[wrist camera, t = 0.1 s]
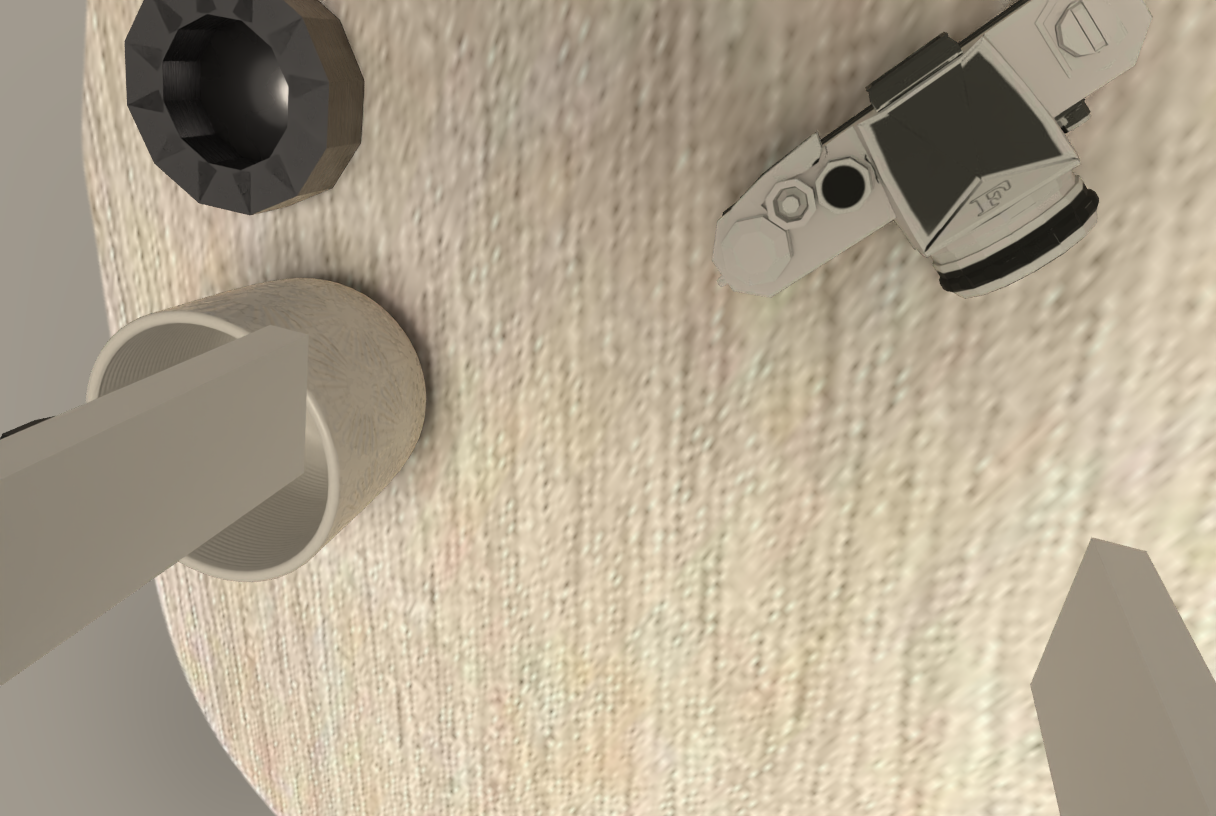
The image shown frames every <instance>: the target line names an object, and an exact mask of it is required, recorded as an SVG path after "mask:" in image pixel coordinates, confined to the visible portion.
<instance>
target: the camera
mask: <svg viewBox="0 0 1216 816" xmlns="http://www.w3.org/2000/svg"><path fill="white" fill-rule="evenodd" d="M1151 20H1152V15H1151V13H1150V11H1149V10H1148V8H1147V6H1146V4H1145V3H1144V1H1143V0H1019V1H1018V2H1016V3H1015V4H1014V5H1012V6H1011V7H1009V8H1008V9H1006V10H1005V11H1004V12H1002V13H1001V14H999V15H998V16H997V17H995V18H994V19H992V20H991V21H989V22H988V23H987V24H985V25H984V26H982V27H981V28H979V29H978V30H977V31H975V32H974V33H972V34H971V35H969V36H968V37H967V38H965V39H964V40H962V41H961V42H959V43H957V42H956V41H954V40H952V39H951V38H949V37H948V33H946V32H943V33H941V34H940V35H938V36H937V37H936V38H934V39H933V40H931V41H930V42H929V43H927V44H926V45H924V46H923V47H922V48H920V49H919V50H917V51H916V52H915V53H913V54H912V55H910V56H909V57H908V58H906V59H905V60H903V61H902V62H901V63H899V64H898V65H896V66H895V67H894V68H892V69H891V70H889V71H888V72H887V73H885V74H884V75H882V76H881V77H880V78H878V79H877V80H875V81H874V82H873V83H871V84H870V85H868V86H867V87H866V91H868V92H869V98H870V102H871V105H870V106H868V107H867V108H865V109H864V110H863V111H861V112H860V113H858V114H857V115H856V116H854V117H853V118H851V119H850V120H848V121H847V122H846V123H844V124H843V125H841V126H840V127H838V128H837V129H836V130H834V131H833V132H831V133H830V134H828V135H827V136H826V137H824V138H823V139H821V140H820V137H819V134H818V132H817V131H816V132H815V133H814V134H813V135H811V136H810V137H809V138H807V139H806V140H805V141H804V142H802V143H801V144H800V145H799V146H797V147H796V148H795V149H793V150H792V151H791V152H790V153H788V154H787V155H786V156H785V157H783V158H782V159H781V160H779V161H778V162H777V163H776V164H774V165H773V166H772V167H771V168H769V169H768V170H767V171H766V172H764V173H763V174H762V175H761V176H760V177H759V178H758V180H757V181H756V182H755V183H754V184H753V185H752V186H751V187H750V188H749V189H748V190H747V192H746V193H745V194H744V195H742V196H741V197H740V199H739V200H738V201H737V202H736V203H735V204H733V205H732V206H731V207H729V208H728V209H727V210H725V211H724V212H723V215H722V217H721V218H720V219H719V220H718V221H717V228H716V235H715V243H714V250H713V258H712V261H713V263H714V264H715V266H716V267H717V269H718V270H719V272H720V273H721V275H722V276H721V277H720V278H718V279H717V282H718V284H719V285H720V286H721V287H722V286H724V285H727V284H729V286H730V287H731V288H732V290H733V291H735V292H741V293H747V294H753V295H759V296H765V297H773V296H774V295H776V294H778V293H779V292H781V291H782V290H784V289H785V288H787V287H789V286H790V285H792V284H793V283H795V282H796V281H798V280H800V279H801V278H803V277H804V276H806V275H807V274H809V273H810V272H812V271H814V270H815V269H817V268H818V267H820V266H821V265H823V264H825V263H826V262H828V261H829V260H831V259H832V258H834V257H836V256H837V255H839V254H840V253H842V252H843V251H845V250H847V249H848V248H850V247H851V246H853V245H854V244H856V243H858V242H859V241H861V240H862V239H864V238H865V237H867V236H869V235H870V234H872V233H873V232H875V231H876V230H878V229H880V228H881V227H883V226H884V225H886V224H887V223H889V222H890V221H892V220H894V221H895V222H896V223H897V225H898V226H899V227H900V229H901V230H902V231H903V233H904V234H905V236H906V237H907V239H908V240H909V242H910V243H911V245H912V247H913V248H914V249H917V250H918V251H919V252H920V253H921V254H922V255H923V256H924V257H926V258H927V257H929V256H931V257H932V258H933V260H934V261H933V266H934V267H935V269H936V270H937V272H938V274H939V275H940V279H939V281H940V284H941V286H942V288H943V289H944V290H946V291H950V292H954V293H955V294H957V295H958V296H960V297H963V298H965V299H966V298H972V297H977V296H982V295H985V294H988V293H990V292H993V291H995V290H998V289H1000V288H1003V287H1006V286H1008V285H1010V284H1012V283H1014V282H1016V281H1018V280H1020V279H1022V278H1023V277H1025V276H1027V275H1029V274H1031V273H1033V272H1035V271H1037V270H1038V269H1040V268H1042V267H1043V266H1045V265H1046V264H1048V263H1049V262H1051V261H1053V260H1054V259H1056V258H1057V257H1059V256H1061V255H1062V254H1064V253H1065V252H1066V251H1067V250H1069V249H1070V248H1071V247H1073V246H1074V245H1075V244H1076V243H1078V242H1079V241H1080V240H1081V239H1083V238H1084V237H1085V236H1086V235H1087V234H1088V233H1089V231H1090V230H1091V229H1092V228H1093V227H1094V226H1095V224H1096V223H1097V206H1098V203H1099V197H1098V196H1097V194H1096V192H1095V191H1092V189H1087V188H1086V186H1085V184H1084V183H1083V181H1082V179H1081V178H1080V176H1079V175H1074V174H1073V172H1072V169H1073V168H1075V167H1076V166H1078V165H1080V164H1081V162H1080V160H1079V157H1078V155H1077V153H1076V151H1075V150H1074V148H1073V147H1072V145H1071V143H1070V142H1069V140H1068V139H1067V137H1066V135H1065V134H1064V133H1067V132H1070V131H1071V130H1073V129H1075V128H1077V127H1078V126H1080V125H1082V124H1083V123H1084V122H1086V121H1087V120H1089V119H1090V117H1091V114H1090V110H1089V108H1088V107H1087V105H1086V103H1085V102H1084V100H1085V99H1084V98H1085V97H1087V96H1088V95H1090V94H1091V93H1093V92H1094V91H1096V90H1098V89H1099V88H1101V87H1102V86H1104V85H1105V84H1107V83H1109V82H1110V81H1112V80H1113V79H1115V78H1116V77H1118V76H1120V75H1121V74H1123V73H1124V72H1126V71H1127V70H1129V69H1130V68H1132V67H1134V66H1135V64H1136V61H1137V58H1138V56H1139V53H1140V50H1141V47H1142V45H1143V42H1144V39H1145V36H1146V34H1147V31H1148V28H1149V25H1150V23H1151Z"/></svg>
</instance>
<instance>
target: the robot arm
mask: <svg viewBox="0 0 1216 816" xmlns="http://www.w3.org/2000/svg"><path fill="white" fill-rule="evenodd" d="M308 340H309V335H308V334H304V333H300V332H296V331H292V330H288V329H285V328H281V327H277V326H273V325H269V326H267V327H264V328H262V329H259V330H257V331H255V332H252V333H250V334H248V335H245V336H243V337H241V338H238V339H236V340H234V341H231V342H229V343H227V344H224V345H222V346H219V347H217V348H215V349H212V350H210V351H208V352H205V353H203V354H201V355H198V356H196V357H194V358H191V359H189V360H187V361H184V362H182V363H179V364H177V365H175V366H172V367H170V368H168V369H165V370H163V371H161V372H158V373H156V374H154V375H151V376H149V377H147V378H144V379H142V380H139V381H137V382H135V383H132V384H130V385H128V386H125V387H123V388H121V389H118V390H116V391H114V392H111V393H109V394H107V395H104V396H102V397H100V398H97V399H95V400H92V401H90V402H88V403H85V404H83V405H81V406H78V407H76V408H74V409H71V410H69V411H67V412H64V413H62V414H60V415H57V416H53V417H49V418H43V419H39V420H34V421H32V422H30V423H27V424H25V425H22V426H20V427H17V428H15V429H13V430H10V431H8V432H6V433H3V434H2V436H1V438H0V686H2V685H3V684H4V683H6V682H7V681H9V680H10V679H11V678H13V677H14V676H16V675H17V674H19V673H20V672H21V671H23V670H24V669H26V668H27V667H28V666H30V665H31V664H33V663H34V662H36V661H37V660H39V659H40V658H41V657H43V656H44V655H46V654H47V653H49V652H50V651H51V650H53V649H54V648H55V647H57V646H58V645H60V644H61V643H63V642H64V641H66V640H67V639H68V638H70V637H71V636H73V635H74V634H76V633H77V632H78V631H80V630H81V629H83V628H84V627H85V626H87V625H88V624H90V623H91V622H93V621H94V620H95V619H97V618H98V617H100V616H101V615H103V614H104V613H105V612H106V611H108V610H110V609H111V608H112V607H114V606H115V605H117V604H118V603H120V602H121V601H123V600H124V599H125V598H127V597H128V596H130V595H131V594H132V593H134V592H135V591H137V590H138V589H140V588H141V587H142V586H143V585H145V584H147V583H148V582H150V581H151V580H152V579H154V578H155V577H157V576H158V575H159V574H161V573H162V572H164V571H165V570H167V569H168V568H169V567H171V566H172V565H174V564H175V563H177V562H178V561H179V560H181V559H182V558H184V557H185V556H187V555H188V554H189V553H191V552H192V551H194V550H195V549H196V548H198V547H199V546H201V545H202V544H204V543H205V542H206V541H208V540H209V539H211V538H212V537H214V536H215V535H216V534H218V533H219V532H221V531H222V530H223V529H225V528H226V527H228V526H229V525H231V524H232V523H233V522H235V521H236V520H238V519H239V518H241V517H242V516H243V515H245V514H246V513H248V512H249V511H250V510H252V509H253V508H255V507H256V506H258V505H259V504H260V503H262V502H263V501H265V500H266V499H268V498H269V497H270V496H272V495H273V494H275V493H276V492H278V491H279V490H280V489H282V488H283V487H285V486H286V485H287V484H289V483H290V482H292V481H293V480H295V479H296V478H297V477H299V476H300V475H302V474H303V473H304V456H305V427H306V398H307V369H308ZM1030 685H1031V690H1032V694H1033V698H1034V703H1035V707H1036V711H1037V716H1038V720H1039V724H1040V729H1041V733H1042V737H1043V742H1044V746H1045V751H1046V755H1047V759H1048V764H1049V768H1050V772H1051V777H1052V781H1053V785H1054V790H1055V794H1056V798H1057V803H1058V807H1059V812H1060V816H1216V682H1215V680H1214V678H1213V677H1212V675H1211V673H1210V671H1209V669H1208V667H1207V665H1206V663H1205V661H1204V660H1203V658H1202V656H1201V654H1200V652H1199V650H1198V648H1197V646H1196V644H1195V642H1194V641H1193V639H1192V637H1191V635H1190V633H1189V631H1188V629H1187V627H1186V625H1185V624H1184V622H1183V620H1182V618H1181V616H1180V614H1179V612H1178V610H1177V608H1176V607H1175V605H1174V603H1173V601H1172V599H1171V597H1170V595H1169V593H1168V591H1167V590H1166V588H1165V586H1164V584H1163V582H1162V580H1161V578H1160V576H1159V574H1158V573H1157V571H1156V569H1155V567H1154V565H1153V563H1152V561H1151V559H1150V557H1149V556H1148V554H1147V552H1146V551H1143V550H1139V549H1135V548H1131V547H1127V546H1123V545H1120V544H1116V543H1112V542H1108V541H1104V540H1100V539H1096V538H1091V540H1090V542H1089V545H1088V547H1087V550H1086V552H1085V554H1084V557H1083V559H1082V562H1081V564H1080V566H1079V569H1078V571H1077V574H1076V576H1075V579H1074V581H1073V583H1072V586H1071V588H1070V591H1069V593H1068V595H1067V598H1066V600H1065V603H1064V605H1063V607H1062V610H1061V612H1060V615H1059V617H1058V619H1057V622H1056V624H1055V627H1054V629H1053V631H1052V634H1051V636H1050V639H1049V641H1048V644H1047V646H1046V648H1045V651H1044V653H1043V656H1042V658H1041V660H1040V663H1039V665H1038V668H1037V670H1036V672H1035V675H1034V677H1033V680H1032V682H1031V684H1030Z"/></svg>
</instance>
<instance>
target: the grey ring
mask: <svg viewBox="0 0 1216 816" xmlns="http://www.w3.org/2000/svg"><path fill="white" fill-rule="evenodd" d="M125 64H126V89H127V106H128V108H129V110H130V112H131V114H132V117H133V119H134V121H135V123H136V125H137V127H138V129H139V132H140V134H141V136H142V138H143V140H144V142H145V144H146V147H147V149H148V151H149V153H150V155H151V157H152V159H153V162H154V164H156V165H157V166H158V167H159V168H160V169H161V170H162V171H163V172H165V173H166V174H167V175H168V176H169V177H170V178H171V179H172V180H174V181H175V182H176V183H177V184H178V185H179V186H180V187H181V188H182V189H184V190H185V191H186V192H187V193H188V194H189V195H190V196H191V197H193V198H194V199H195V200H196V201H197V202H198V203H200V204H205V205H209V206H213V207H217V208H221V209H226V210H230V211H234V212H238V213H243V214H247V215H254V214H258V213H262V212H267V211H271V210H275V209H279V208H283V207H287V206H290V205H292V204H295V203H297V202H300V201H302V200H304V199H307V198H309V197H312V196H314V195H317V194H319V193H322V192H324V191H326V190H329V189H331V188H333V186H334V185H335V183H336V181H337V180H338V178H339V177H340V175H341V173H342V172H343V170H344V169H345V167H346V165H347V164H348V162H349V161H350V159H351V158H352V156H353V154H354V153H355V151H356V150H357V148H358V146H359V145H360V143H361V130H362V111H363V93H364V80H363V77H362V75H361V72H360V70H359V67H358V65H357V62H356V60H355V57H354V55H353V52H352V50H351V47H350V45H349V42H348V40H347V37H346V35H345V32H344V30H343V28H342V25H341V23H340V20H339V19H338V18H337V17H336V16H334V15H333V14H332V13H331V12H330V11H329V10H328V9H327V8H326V7H324V6H323V5H322V4H321V3H320V2H319V1H318V0H144V1H143V3H142V5H141V7H140V9H139V12H138V14H137V16H136V18H135V20H134V22H133V24H132V27H131V29H130V31H129V33H128V35H127V37H126V39H125Z"/></svg>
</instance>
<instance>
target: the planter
mask: <svg viewBox="0 0 1216 816" xmlns="http://www.w3.org/2000/svg"><path fill="white" fill-rule="evenodd" d="M269 325H273V326H277V327H281V328H285V329H288V330H292V331H296V332H300V333H304V334H308V335H309V340H308V369H307V398H306V427H305V456H304V473H303V474H302V475H300V476H299V477H297V478H296V479H295V480H293V481H292V482H290V483H289V484H287V485H286V486H285V487H283V488H282V489H280V490H279V491H278V492H276V493H275V494H273V495H272V496H270V497H269V498H268V499H266V500H265V501H263V502H262V503H260V504H259V505H258V506H256V507H255V508H253V509H252V510H250V511H249V512H248V513H246V514H245V515H243V516H242V517H241V518H239V519H238V520H236V521H235V522H233V523H232V524H231V525H229V526H228V527H226V528H225V529H223V530H222V531H221V532H219V533H218V534H216V535H215V536H214V537H212V538H211V539H209V540H208V541H206V542H205V543H204V544H202V545H201V546H199V547H198V548H196V549H195V550H194V551H192V552H191V553H189V554H188V555H187V556H185V557H184V558H182V559H181V560H179V561H178V562H180V563H182V564H184V565H185V566H187V567H189V568H191V569H194V570H196V571H198V572H201V573H203V574H206V575H209V576H212V577H216V578H220V579H224V580H230V581H238V582H258V581H266V580H271V579H275V578H278V577H281V576H284V575H287V574H289V573H291V572H293V571H295V570H297V569H298V568H300V567H301V566H303V565H304V564H306V563H307V562H308V561H309V560H310V559H311V558H312V557H314V556H315V555H316V554H317V553H318V552H319V551H320V550H321V549H322V548H323V547H324V546H325V545H326V544H327V543H328V542H329V541H330V540H331V539H332V538H334V537H335V536H336V535H337V534H338V533H339V532H340V531H341V530H342V529H343V528H344V527H345V526H346V525H347V524H349V523H350V522H351V521H352V520H353V519H354V518H355V517H356V516H357V515H358V514H359V513H360V512H361V511H362V510H363V509H364V508H365V507H366V506H367V505H368V504H369V503H371V502H372V501H373V499H374V498H375V497H376V496H377V495H378V494H379V493H380V492H381V491H382V490H383V489H384V488H385V487H386V486H387V485H388V484H389V483H390V481H391V480H392V479H393V478H394V477H395V475H396V474H397V473H398V472H399V471H400V469H401V468H402V467H403V465H404V464H405V463H406V461H407V460H408V458H409V456H410V455H411V453H412V451H413V450H414V448H415V445H416V443H417V441H418V439H419V437H420V434H421V431H422V428H423V423H424V419H425V410H426V388H425V381H424V376H423V371H422V368H421V365H420V362H419V359H418V357H417V354H416V352H415V350H414V348H413V346H412V344H411V342H410V340H409V339H408V337H407V336H406V334H405V332H404V331H403V330H402V328H401V327H400V326H399V324H398V323H397V322H396V321H395V320H394V319H393V317H392V316H391V315H390V314H389V313H388V312H387V311H386V310H384V309H383V308H382V307H381V306H380V305H379V304H377V303H376V302H375V301H373V300H372V299H370V298H369V297H367V296H366V295H364V294H362V293H360V292H358V291H356V290H354V289H352V288H350V287H347V286H345V285H342V284H339V283H336V282H332V281H328V280H322V279H314V278H291V279H282V280H275V281H269V282H263V283H259V284H254V285H250V286H246V287H242V288H238V289H234V290H230V291H226V292H223V293H219V294H216V295H213V296H209V297H206V298H202V299H199V300H195V301H192V302H188V303H185V304H182V305H178V306H175V307H172V308H168V309H165V310H162V311H158V312H155V313H151V314H148V315H145V316H143V317H140V318H138V319H136V320H134V321H132V322H130V323H128V324H127V325H126V326H124V327H123V328H121V329H120V330H119V331H118V332H117V333H116V334H115V335H113V336H112V337H111V338H110V339H109V341H108V342H107V343H106V345H105V346H104V347H103V349H102V350H101V352H100V354H99V356H98V358H97V359H96V362H95V364H94V367H93V369H92V371H91V375H90V379H89V382H88V388H87V394H86V403H88V402H90V401H92V400H95V399H97V398H100V397H102V396H104V395H107V394H109V393H111V392H114V391H116V390H118V389H121V388H123V387H125V386H128V385H130V384H132V383H135V382H137V381H139V380H142V379H144V378H147V377H149V376H151V375H154V374H156V373H158V372H161V371H163V370H165V369H168V368H170V367H172V366H175V365H177V364H179V363H182V362H184V361H187V360H189V359H191V358H194V357H196V356H198V355H201V354H203V353H205V352H208V351H210V350H212V349H215V348H217V347H219V346H222V345H224V344H227V343H229V342H231V341H234V340H236V339H238V338H241V337H243V336H245V335H248V334H250V333H252V332H255V331H257V330H259V329H262V328H264V327H267V326H269Z"/></svg>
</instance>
